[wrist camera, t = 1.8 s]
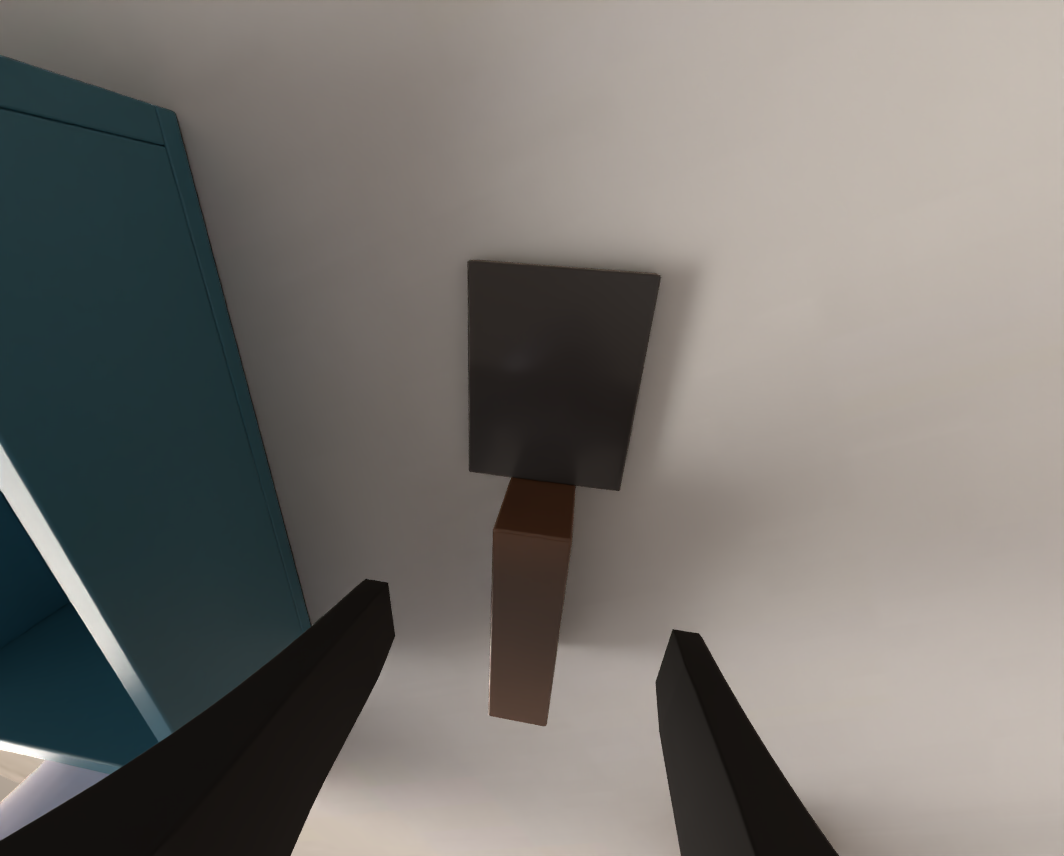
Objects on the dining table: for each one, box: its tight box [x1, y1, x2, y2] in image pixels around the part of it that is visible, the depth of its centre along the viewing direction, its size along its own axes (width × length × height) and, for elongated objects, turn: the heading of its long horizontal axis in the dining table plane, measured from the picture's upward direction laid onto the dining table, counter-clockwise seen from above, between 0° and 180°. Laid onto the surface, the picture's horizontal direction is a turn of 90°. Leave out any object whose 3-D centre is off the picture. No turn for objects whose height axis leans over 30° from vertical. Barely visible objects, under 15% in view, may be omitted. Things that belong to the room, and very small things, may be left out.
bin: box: [0, 55, 311, 774], centre depth 12 cm, size 20×13×6 cm, turn 176°
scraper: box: [468, 260, 661, 726], centre depth 11 cm, size 14×5×3 cm, turn 176°
